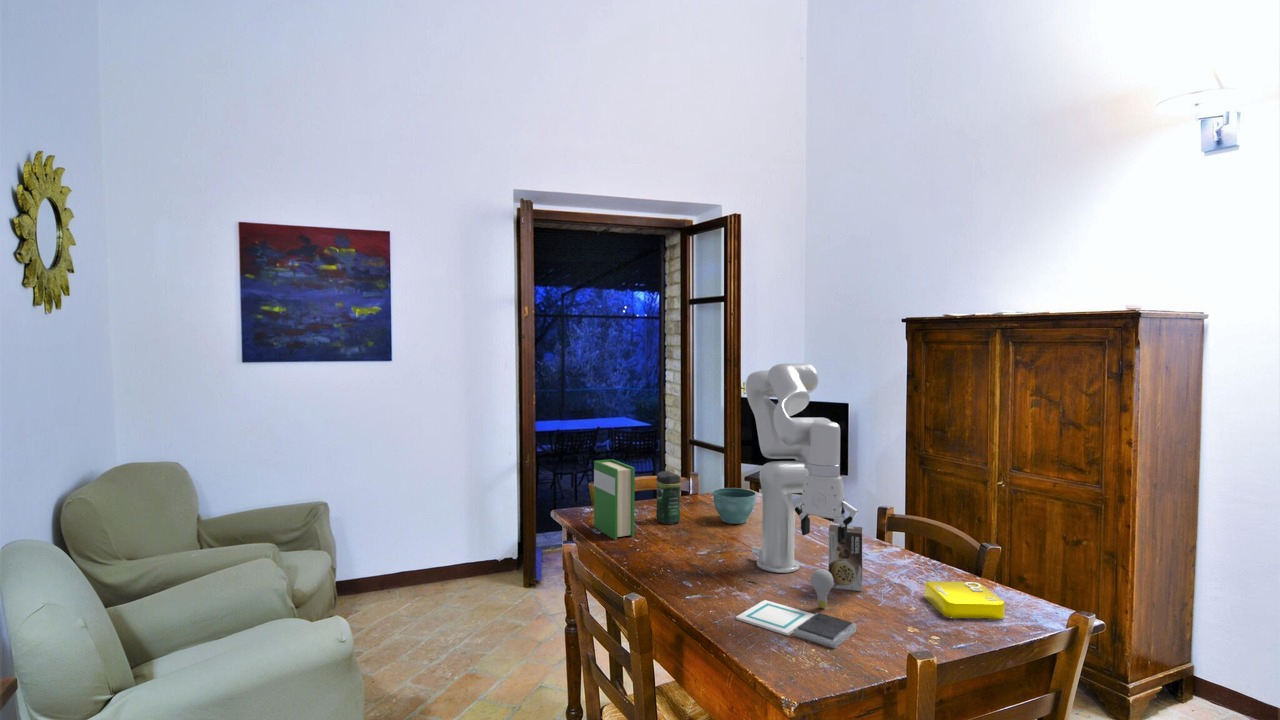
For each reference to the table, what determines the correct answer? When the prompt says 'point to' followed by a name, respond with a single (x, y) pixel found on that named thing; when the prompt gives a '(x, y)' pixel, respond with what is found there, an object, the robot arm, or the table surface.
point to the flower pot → (734, 504)
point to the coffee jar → (668, 497)
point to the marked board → (774, 617)
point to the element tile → (964, 600)
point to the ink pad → (825, 630)
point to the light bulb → (822, 585)
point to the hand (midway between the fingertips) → (823, 537)
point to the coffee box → (846, 558)
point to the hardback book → (614, 498)
